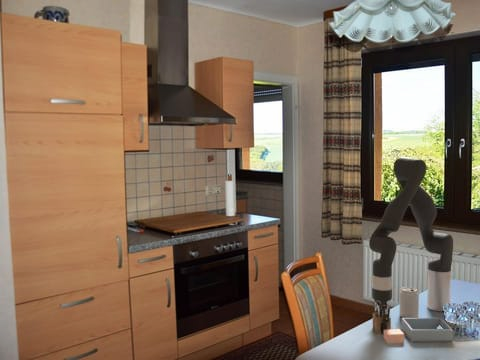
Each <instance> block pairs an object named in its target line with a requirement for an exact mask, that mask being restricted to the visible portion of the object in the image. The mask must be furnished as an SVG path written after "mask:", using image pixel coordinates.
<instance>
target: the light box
mask: <svg viewBox="0 0 480 360" xmlns="http://www.w3.org/2000/svg"><path fill="white" fill-rule="evenodd" d="M383 340H385V342H386V343H387V344H404V343H405V333H404V332H403V330H402V329H400V328H395V329H394V328H393V329H392V328H391V330H384V333H383Z"/></svg>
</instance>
